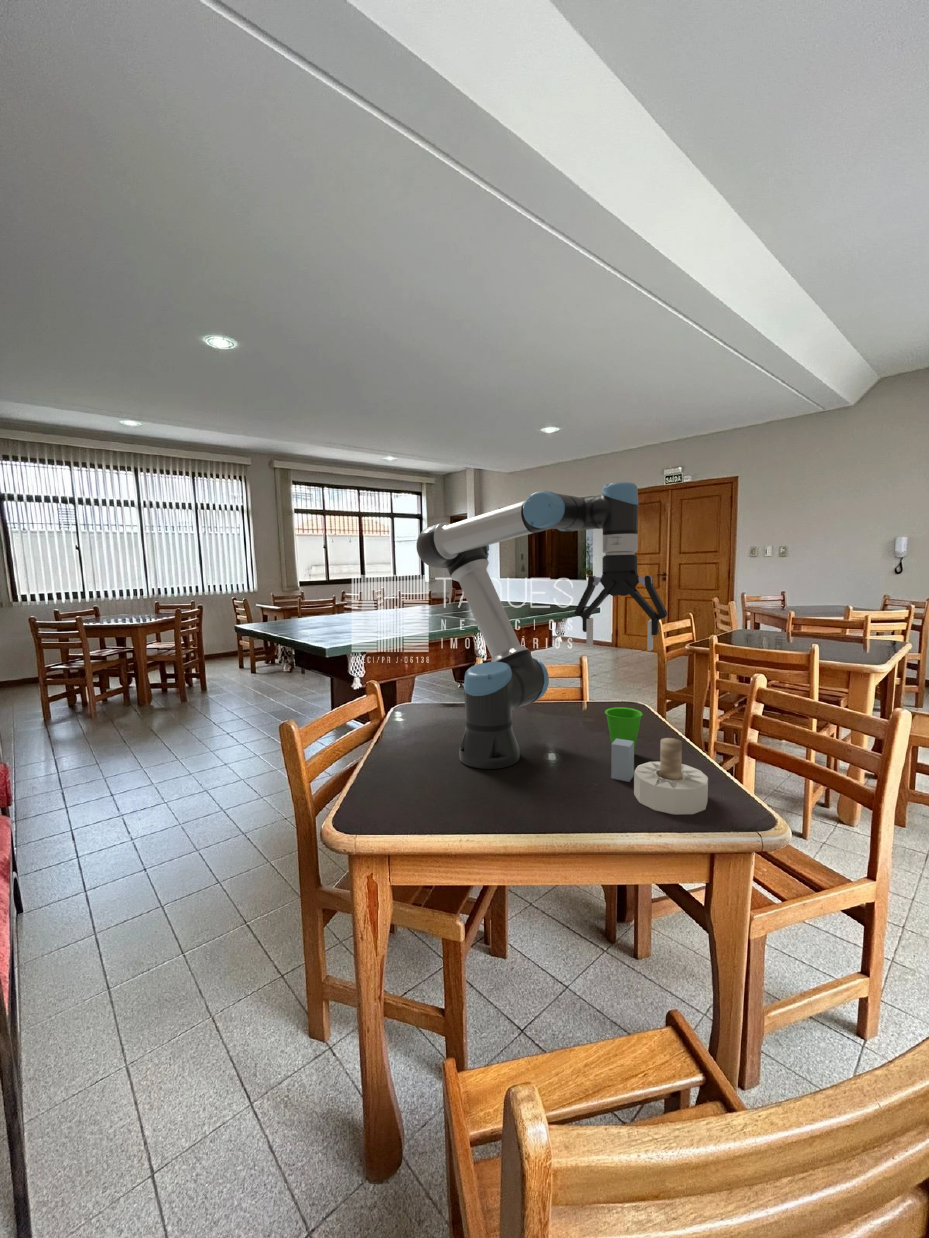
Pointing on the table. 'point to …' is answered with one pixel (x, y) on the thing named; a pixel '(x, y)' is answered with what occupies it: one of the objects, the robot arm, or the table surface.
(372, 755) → the table surface
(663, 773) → the dowel
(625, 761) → the square peg
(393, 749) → the table surface
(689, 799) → the socket
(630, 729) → the cup
